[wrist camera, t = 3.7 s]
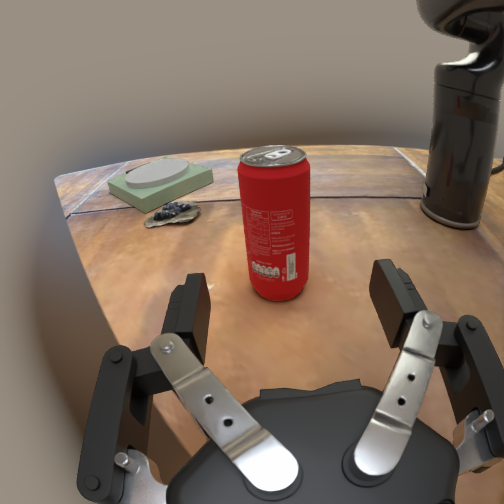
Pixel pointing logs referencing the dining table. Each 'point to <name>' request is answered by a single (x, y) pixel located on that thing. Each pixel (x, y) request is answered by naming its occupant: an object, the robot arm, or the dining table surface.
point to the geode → (174, 213)
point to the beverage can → (276, 219)
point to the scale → (159, 182)
